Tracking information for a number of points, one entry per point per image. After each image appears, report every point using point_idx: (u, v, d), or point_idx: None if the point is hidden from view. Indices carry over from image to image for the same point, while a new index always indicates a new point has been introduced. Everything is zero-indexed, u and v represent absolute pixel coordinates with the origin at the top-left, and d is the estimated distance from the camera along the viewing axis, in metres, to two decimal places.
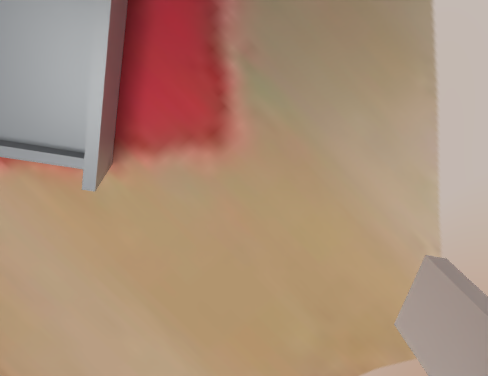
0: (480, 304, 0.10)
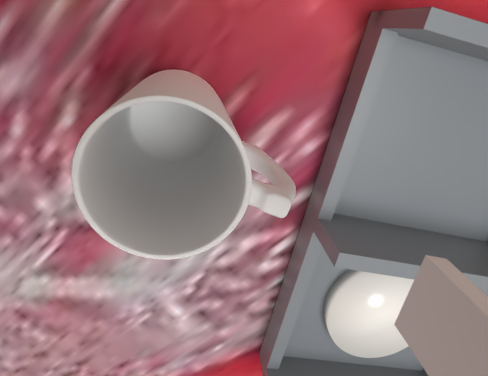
0: (480, 304, 0.10)
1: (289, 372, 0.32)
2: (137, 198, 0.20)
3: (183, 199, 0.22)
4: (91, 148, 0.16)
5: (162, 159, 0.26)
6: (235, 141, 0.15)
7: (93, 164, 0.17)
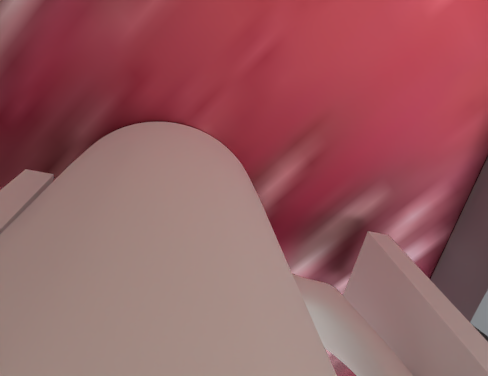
0: (407, 272, 0.11)
1: None
2: None
3: None
4: None
5: None
6: None
7: None
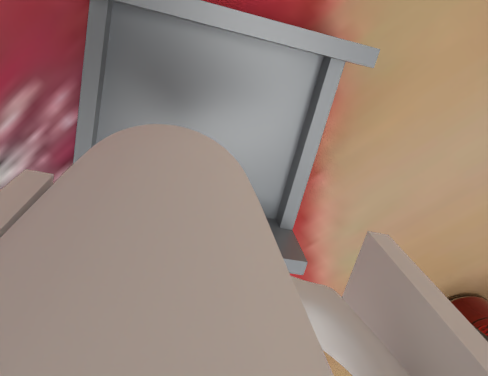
0: (407, 272, 0.11)
1: None
2: None
3: None
4: None
5: None
6: None
7: None
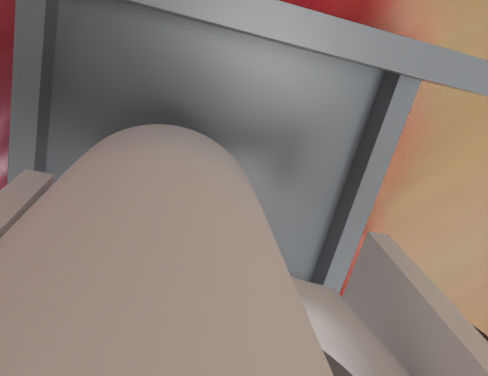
0: (407, 272, 0.11)
1: None
2: None
3: None
4: None
5: None
6: None
7: None
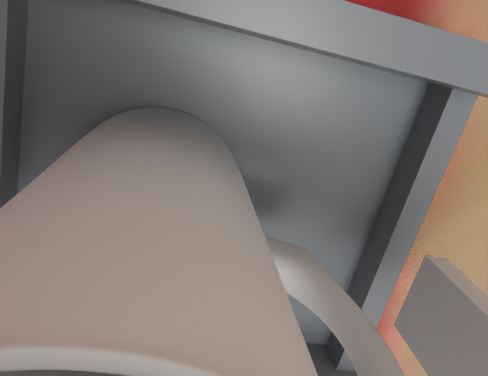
0: (480, 304, 0.10)
1: None
2: None
3: None
4: None
5: None
6: None
7: None
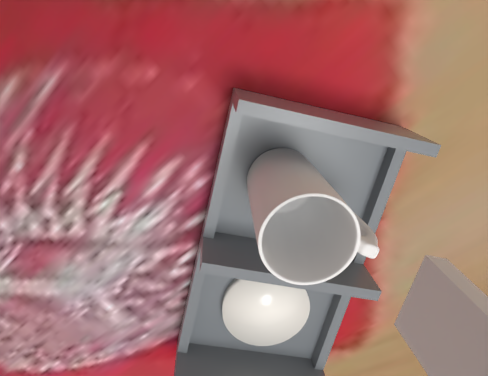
0: (480, 304, 0.10)
1: (195, 355, 0.42)
2: (271, 242, 0.31)
3: (298, 242, 0.32)
4: None
5: None
6: (353, 216, 0.26)
7: None
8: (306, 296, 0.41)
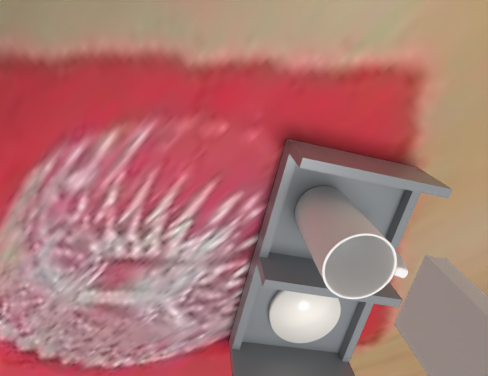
0: (480, 304, 0.10)
1: (246, 351, 0.51)
2: None
3: (341, 263, 0.41)
4: None
5: None
6: (392, 249, 0.35)
7: None
8: (338, 302, 0.50)
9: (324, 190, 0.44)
